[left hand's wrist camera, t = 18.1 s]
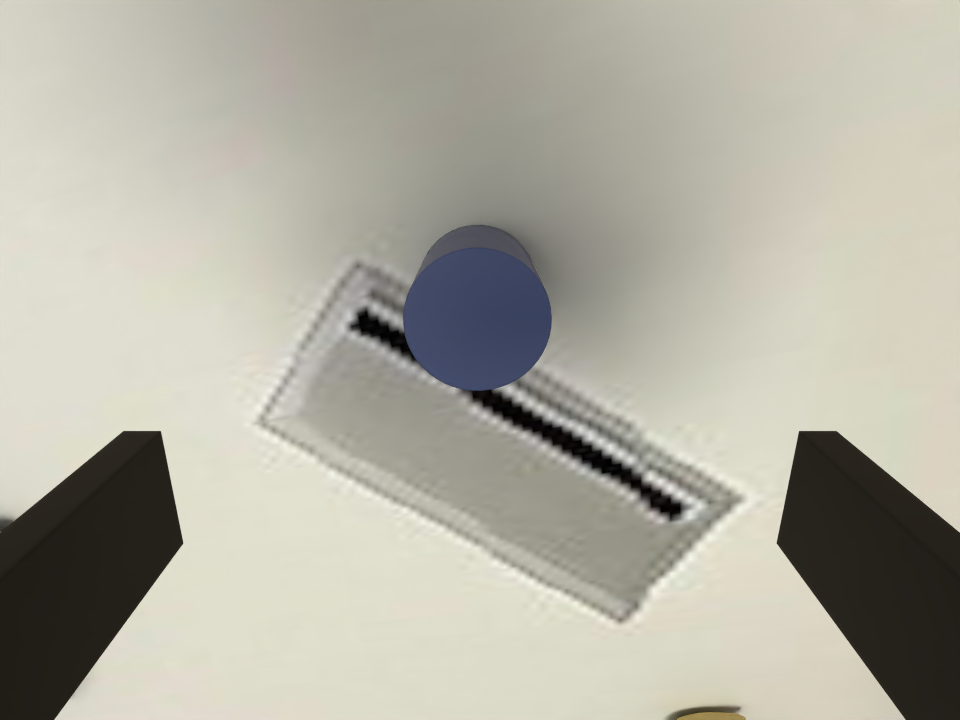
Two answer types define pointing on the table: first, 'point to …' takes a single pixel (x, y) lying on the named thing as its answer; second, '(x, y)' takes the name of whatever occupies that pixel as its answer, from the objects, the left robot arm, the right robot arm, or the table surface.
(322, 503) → the table surface
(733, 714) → the toy gun
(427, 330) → the can
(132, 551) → the left robot arm
